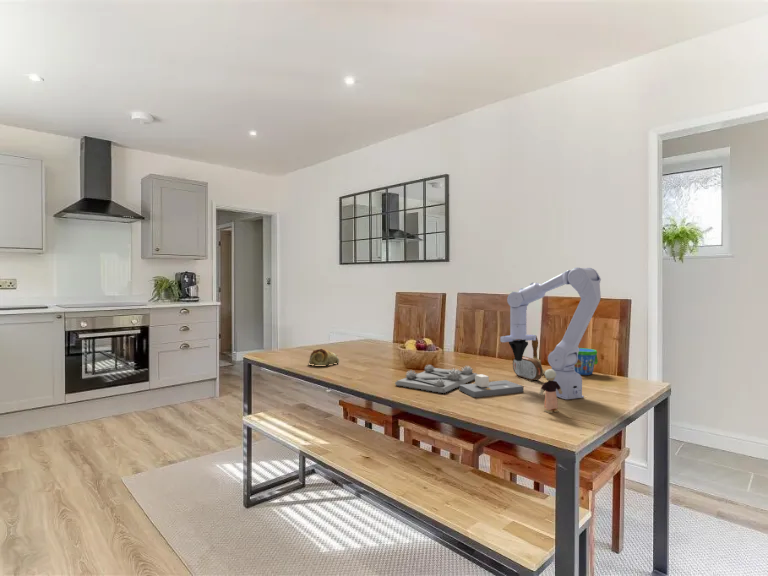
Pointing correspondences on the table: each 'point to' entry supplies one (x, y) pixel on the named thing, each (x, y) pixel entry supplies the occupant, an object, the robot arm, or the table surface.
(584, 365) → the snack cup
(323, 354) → the pastry
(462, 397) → the table surface
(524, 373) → the tin
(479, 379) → the switch tab
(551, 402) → the grandmother figurine
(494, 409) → the table surface
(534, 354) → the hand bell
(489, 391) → the switch board
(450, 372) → the grey knobbed board
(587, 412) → the table surface
